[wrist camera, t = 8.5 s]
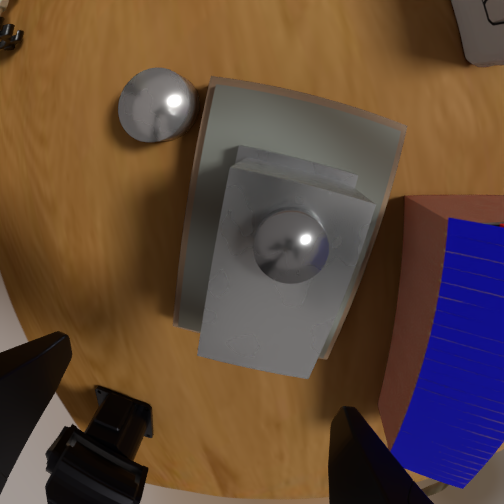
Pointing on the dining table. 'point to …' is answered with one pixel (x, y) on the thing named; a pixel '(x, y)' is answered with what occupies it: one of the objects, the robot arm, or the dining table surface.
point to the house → (447, 339)
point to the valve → (8, 31)
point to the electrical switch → (481, 30)
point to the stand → (285, 142)
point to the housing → (281, 261)
